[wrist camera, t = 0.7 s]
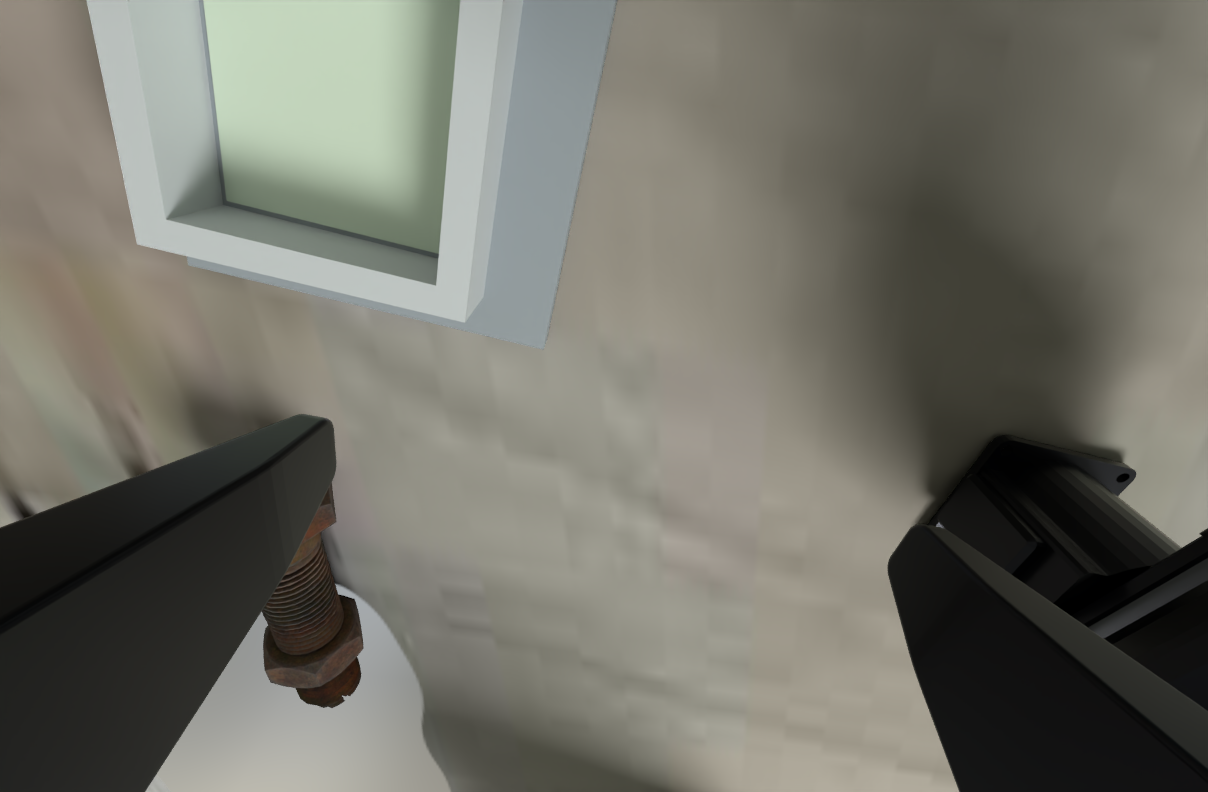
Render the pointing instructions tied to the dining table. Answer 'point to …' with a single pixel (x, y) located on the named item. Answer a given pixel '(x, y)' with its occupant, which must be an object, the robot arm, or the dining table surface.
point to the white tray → (361, 145)
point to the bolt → (313, 624)
